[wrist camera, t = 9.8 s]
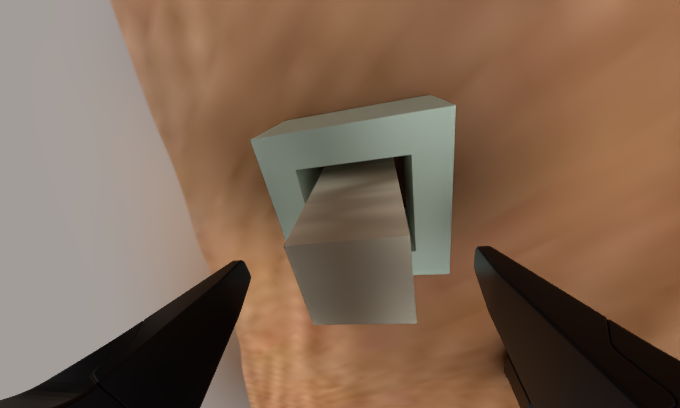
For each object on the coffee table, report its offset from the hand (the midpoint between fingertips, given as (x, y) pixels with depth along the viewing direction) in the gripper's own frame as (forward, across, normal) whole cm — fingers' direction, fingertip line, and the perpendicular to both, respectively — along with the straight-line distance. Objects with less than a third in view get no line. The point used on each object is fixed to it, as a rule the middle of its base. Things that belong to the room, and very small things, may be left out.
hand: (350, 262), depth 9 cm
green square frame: (+9, 0, 0) cm, 9 cm away
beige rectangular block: (+9, 0, 0) cm, 9 cm away
